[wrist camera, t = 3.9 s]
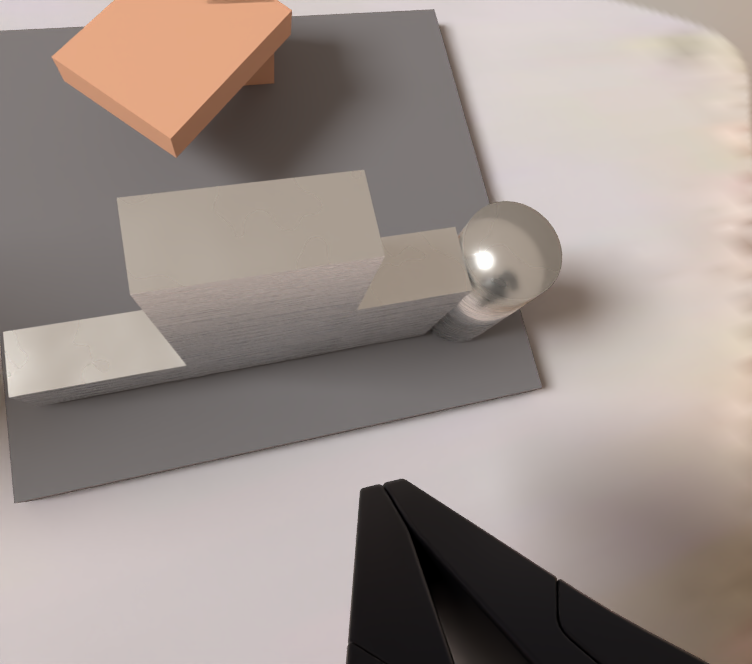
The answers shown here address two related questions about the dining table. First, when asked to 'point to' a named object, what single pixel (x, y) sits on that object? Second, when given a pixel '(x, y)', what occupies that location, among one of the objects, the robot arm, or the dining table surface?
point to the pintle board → (219, 168)
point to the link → (281, 285)
